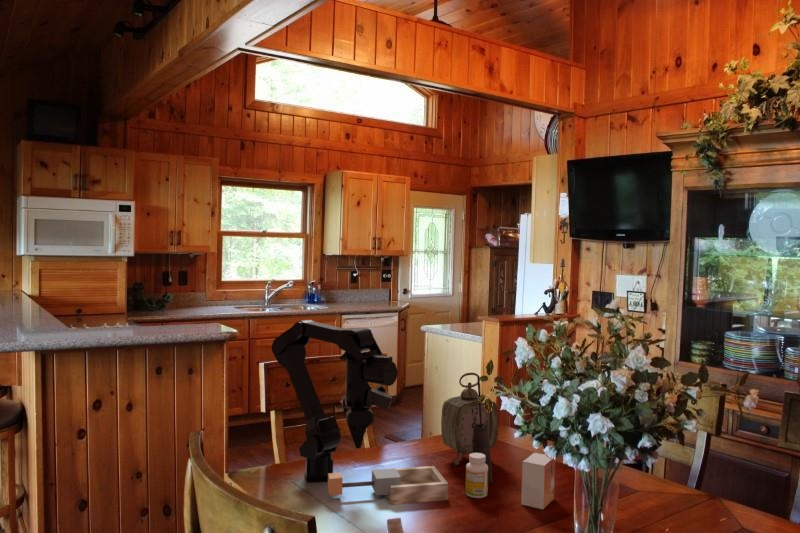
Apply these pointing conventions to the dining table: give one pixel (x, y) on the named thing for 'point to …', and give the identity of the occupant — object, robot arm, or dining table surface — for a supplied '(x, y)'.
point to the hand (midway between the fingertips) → (356, 442)
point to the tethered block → (379, 482)
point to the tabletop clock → (466, 420)
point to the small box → (537, 481)
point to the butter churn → (482, 439)
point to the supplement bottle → (477, 476)
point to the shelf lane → (419, 486)
